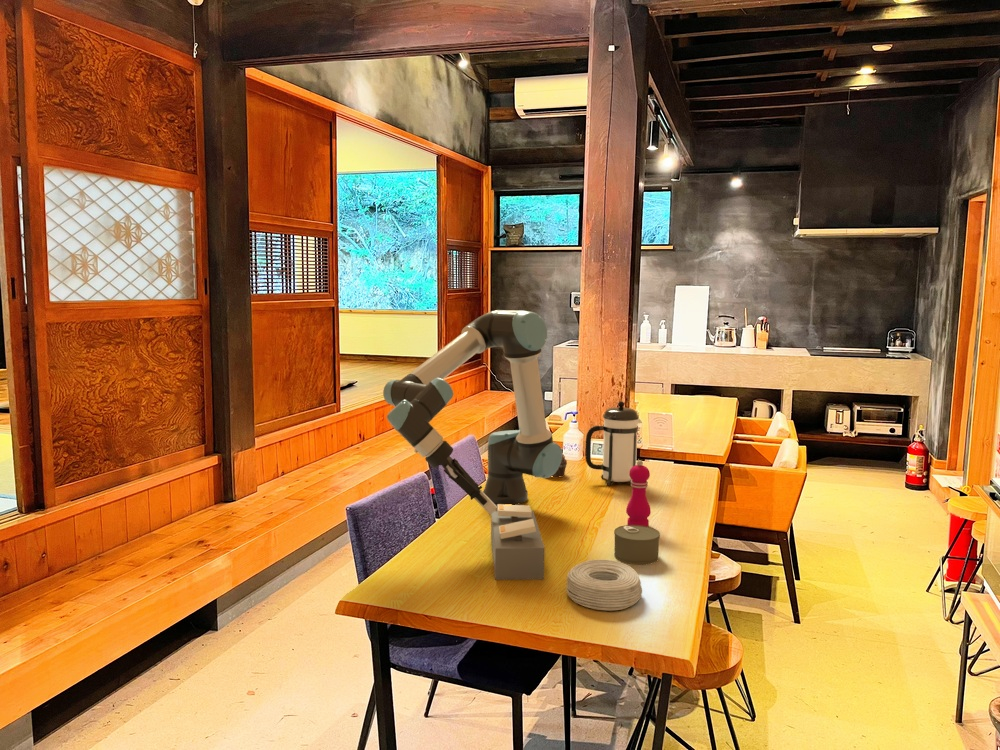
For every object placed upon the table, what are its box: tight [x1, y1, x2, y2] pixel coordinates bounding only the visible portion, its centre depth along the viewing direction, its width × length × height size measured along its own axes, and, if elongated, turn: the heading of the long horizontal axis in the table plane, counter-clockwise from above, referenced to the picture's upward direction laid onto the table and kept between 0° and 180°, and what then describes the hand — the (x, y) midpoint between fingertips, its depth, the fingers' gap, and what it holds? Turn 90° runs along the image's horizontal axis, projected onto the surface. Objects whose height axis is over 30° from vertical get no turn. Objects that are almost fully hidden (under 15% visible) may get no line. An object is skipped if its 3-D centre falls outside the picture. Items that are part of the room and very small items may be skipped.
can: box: [613, 524, 661, 566], centre depth 198 cm, size 12×12×7 cm
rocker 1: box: [496, 504, 533, 517], centre depth 204 cm, size 6×9×2 cm, turn 93°
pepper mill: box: [625, 460, 652, 527], centre depth 223 cm, size 7×7×20 cm
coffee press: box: [585, 400, 643, 487], centre depth 270 cm, size 17×16×30 cm
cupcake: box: [552, 450, 568, 478], centre depth 282 cm, size 10×10×10 cm
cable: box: [566, 558, 643, 611], centre depth 173 cm, size 18×18×6 cm
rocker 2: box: [499, 519, 536, 539], centre depth 189 cm, size 6×9×2 cm, turn 93°
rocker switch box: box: [490, 510, 546, 581], centre depth 200 cm, size 36×12×9 cm, turn 3°
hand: (493, 510), depth 203 cm, fingers closed
